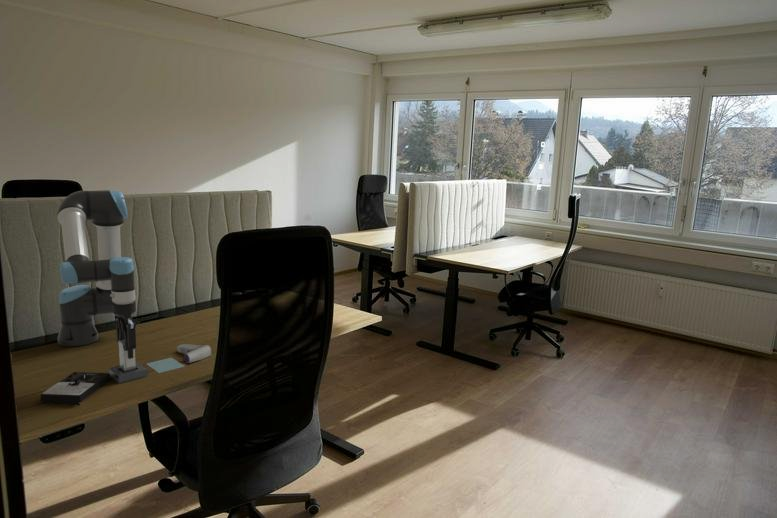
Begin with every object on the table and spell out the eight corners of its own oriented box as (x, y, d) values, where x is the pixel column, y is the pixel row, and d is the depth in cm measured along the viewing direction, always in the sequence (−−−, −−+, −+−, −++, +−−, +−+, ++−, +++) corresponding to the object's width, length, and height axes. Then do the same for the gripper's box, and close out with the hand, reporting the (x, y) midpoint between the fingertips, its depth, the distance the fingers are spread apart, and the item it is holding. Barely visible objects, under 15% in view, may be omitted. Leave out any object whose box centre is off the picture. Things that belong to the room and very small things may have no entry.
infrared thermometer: (185, 351, 233) (213, 355, 227) (162, 361, 222) (190, 365, 216) (184, 341, 232) (212, 344, 226) (161, 349, 222) (189, 354, 215)
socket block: (109, 377, 202) (108, 368, 202) (137, 370, 209) (136, 361, 209) (119, 385, 195) (118, 376, 195) (148, 378, 202) (147, 369, 202)
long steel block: (120, 375, 202) (118, 340, 200) (131, 372, 205) (129, 338, 203) (124, 378, 199) (122, 343, 197) (136, 375, 202) (134, 341, 200)
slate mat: (145, 366, 213) (145, 363, 213) (171, 359, 220) (171, 357, 220) (159, 375, 205) (159, 373, 205) (185, 368, 212) (185, 366, 212)
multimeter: (111, 382, 199) (110, 369, 198) (80, 406, 180) (79, 392, 179) (75, 381, 200) (73, 367, 199) (40, 405, 181) (39, 390, 180)
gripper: (103, 298, 200) (108, 360, 205) (121, 308, 188) (125, 374, 193) (125, 295, 206) (129, 355, 210) (144, 304, 194) (147, 368, 198)
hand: (127, 364), depth 201 cm, fingers closed on long steel block, 4 cm apart
